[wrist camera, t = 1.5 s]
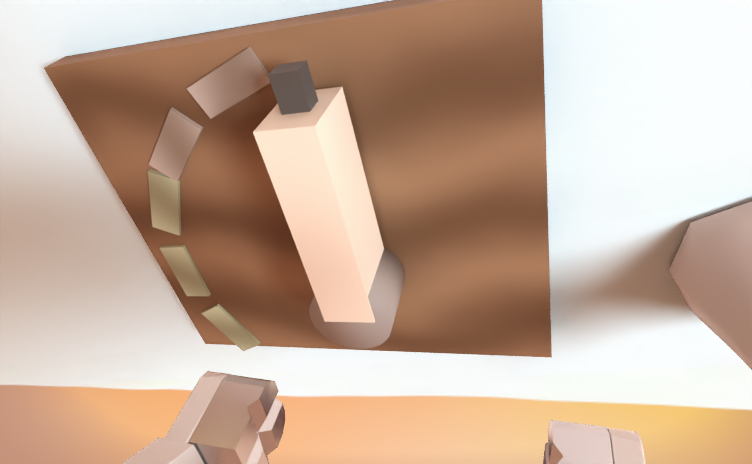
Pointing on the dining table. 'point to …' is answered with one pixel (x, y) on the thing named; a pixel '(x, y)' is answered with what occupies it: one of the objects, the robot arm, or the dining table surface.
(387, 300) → the peg lever
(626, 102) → the dining table surface
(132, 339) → the dining table surface
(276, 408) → the robot arm
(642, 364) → the dining table surface
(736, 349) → the flask
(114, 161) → the board
